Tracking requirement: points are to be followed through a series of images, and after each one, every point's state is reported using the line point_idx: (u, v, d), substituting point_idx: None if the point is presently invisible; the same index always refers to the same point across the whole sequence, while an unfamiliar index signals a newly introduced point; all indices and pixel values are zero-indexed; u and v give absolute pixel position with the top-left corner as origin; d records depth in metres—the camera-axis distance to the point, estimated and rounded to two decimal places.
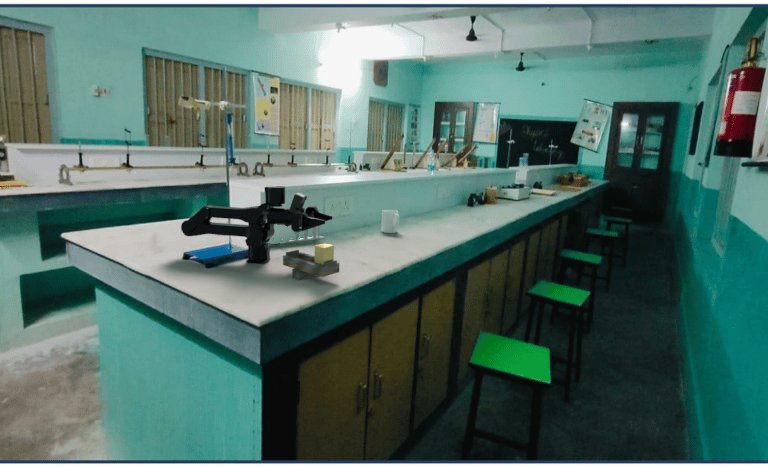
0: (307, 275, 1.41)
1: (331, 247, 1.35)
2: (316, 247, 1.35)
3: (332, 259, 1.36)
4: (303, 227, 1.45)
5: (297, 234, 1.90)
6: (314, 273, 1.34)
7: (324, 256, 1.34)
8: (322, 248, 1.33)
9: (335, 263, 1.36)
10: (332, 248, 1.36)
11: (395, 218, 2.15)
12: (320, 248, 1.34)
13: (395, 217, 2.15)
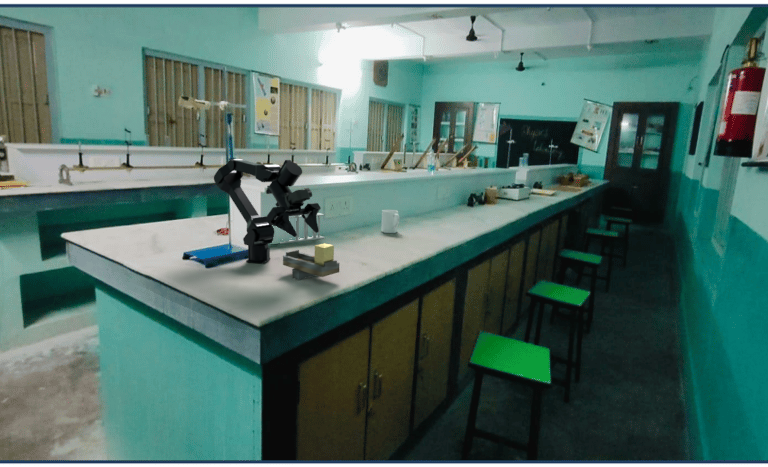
0: (307, 275, 1.41)
1: (331, 247, 1.35)
2: (316, 247, 1.35)
3: (332, 259, 1.36)
4: (276, 223, 1.37)
5: (297, 234, 1.90)
6: (314, 273, 1.34)
7: (324, 256, 1.34)
8: (322, 248, 1.33)
9: (335, 263, 1.36)
10: (332, 248, 1.36)
11: (395, 218, 2.15)
12: (320, 248, 1.34)
13: (395, 217, 2.15)
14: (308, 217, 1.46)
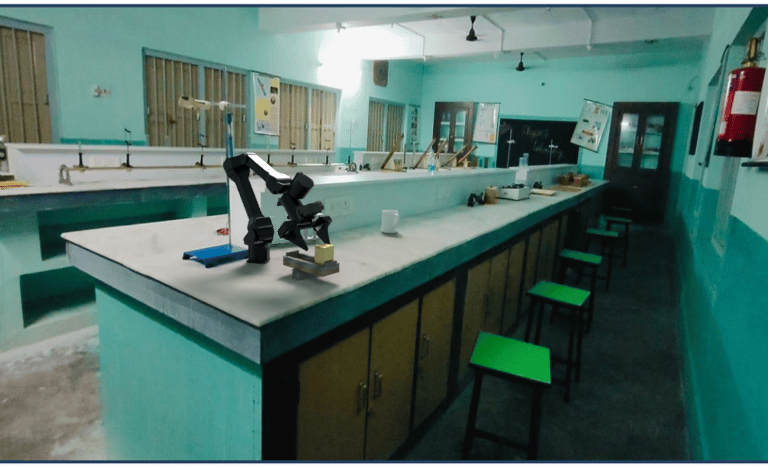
0: (307, 275, 1.41)
1: (331, 247, 1.35)
2: (316, 247, 1.35)
3: (332, 259, 1.36)
4: (287, 237, 1.34)
5: None
6: (314, 273, 1.34)
7: (324, 256, 1.34)
8: (322, 248, 1.33)
9: (335, 263, 1.36)
10: (332, 248, 1.36)
11: (395, 218, 2.15)
12: (320, 248, 1.34)
13: (395, 217, 2.15)
14: (319, 230, 1.43)
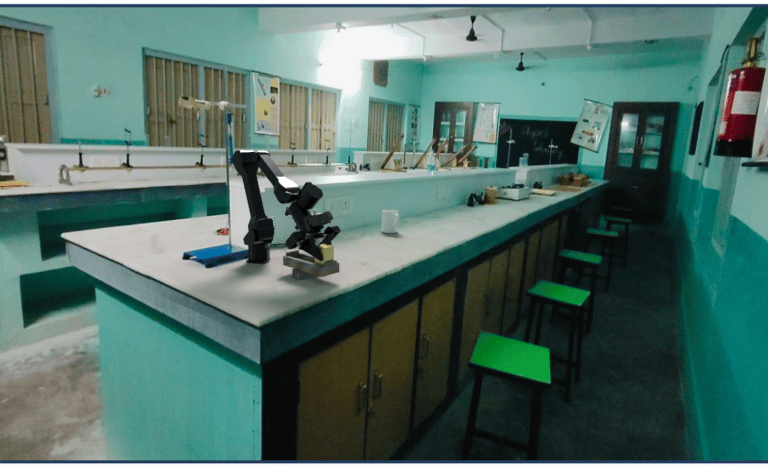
0: (307, 275, 1.41)
1: (331, 247, 1.35)
2: None
3: (332, 259, 1.36)
4: (302, 247, 1.34)
5: None
6: (314, 273, 1.34)
7: (324, 256, 1.34)
8: (322, 248, 1.33)
9: (335, 263, 1.36)
10: (332, 248, 1.36)
11: (395, 218, 2.15)
12: (320, 248, 1.34)
13: (395, 217, 2.15)
14: (323, 241, 1.40)
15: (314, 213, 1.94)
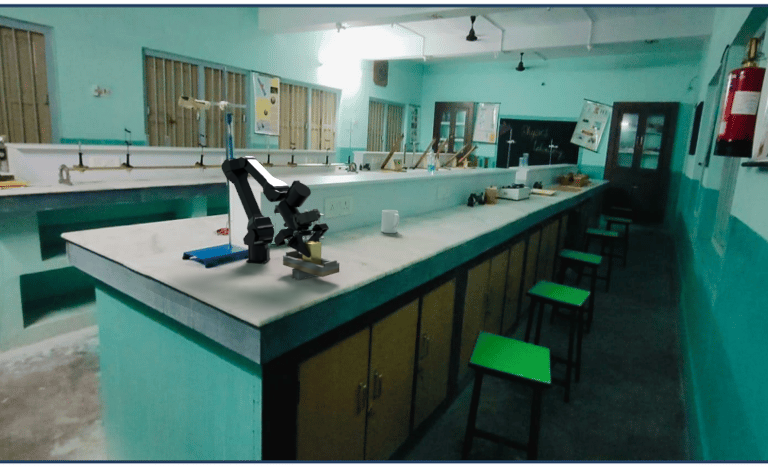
0: (307, 275, 1.41)
1: (319, 244, 1.39)
2: None
3: (319, 256, 1.40)
4: (290, 244, 1.38)
5: None
6: (314, 273, 1.34)
7: (312, 253, 1.37)
8: (310, 245, 1.36)
9: (335, 263, 1.36)
10: (320, 245, 1.39)
11: (395, 218, 2.15)
12: (308, 245, 1.37)
13: (395, 217, 2.15)
14: (311, 239, 1.43)
15: None
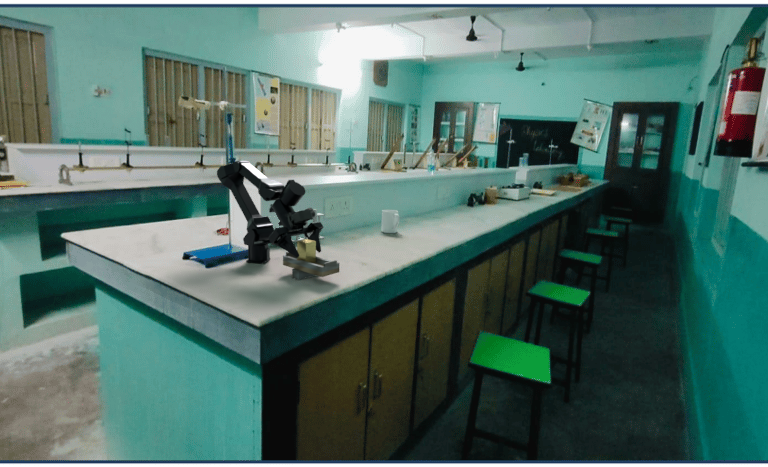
0: (307, 275, 1.41)
1: (313, 243, 1.40)
2: (298, 242, 1.40)
3: (314, 254, 1.41)
4: (279, 244, 1.37)
5: None
6: (314, 273, 1.34)
7: (306, 251, 1.38)
8: (304, 243, 1.38)
9: (335, 263, 1.36)
10: (314, 244, 1.40)
11: (395, 218, 2.15)
12: (302, 243, 1.39)
13: (395, 217, 2.15)
14: (311, 236, 1.46)
15: None
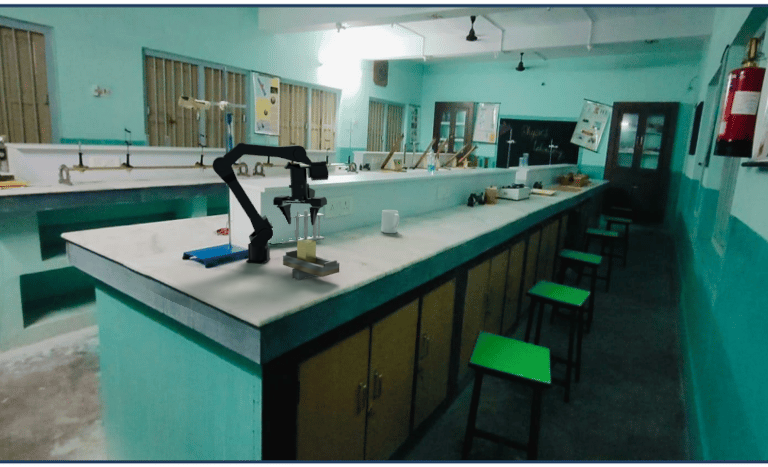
0: (307, 275, 1.41)
1: (313, 243, 1.40)
2: (298, 242, 1.40)
3: (314, 254, 1.41)
4: (316, 208, 1.55)
5: (297, 234, 1.90)
6: (314, 273, 1.34)
7: (306, 251, 1.38)
8: (304, 243, 1.38)
9: (335, 263, 1.36)
10: (314, 244, 1.40)
11: (395, 218, 2.15)
12: (302, 243, 1.39)
13: (395, 217, 2.15)
14: (287, 207, 1.60)
15: None
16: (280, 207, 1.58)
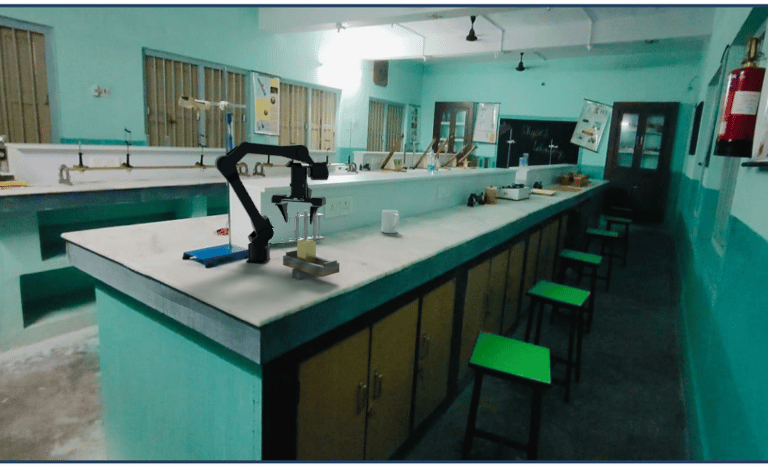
0: (307, 275, 1.41)
1: (313, 243, 1.40)
2: (298, 242, 1.40)
3: (314, 254, 1.41)
4: (317, 207, 1.57)
5: (297, 234, 1.90)
6: (314, 273, 1.34)
7: (306, 251, 1.38)
8: (304, 243, 1.38)
9: (335, 263, 1.36)
10: (314, 244, 1.40)
11: (395, 218, 2.15)
12: (302, 243, 1.39)
13: (395, 217, 2.15)
14: (284, 205, 1.60)
15: None
16: (279, 205, 1.58)
